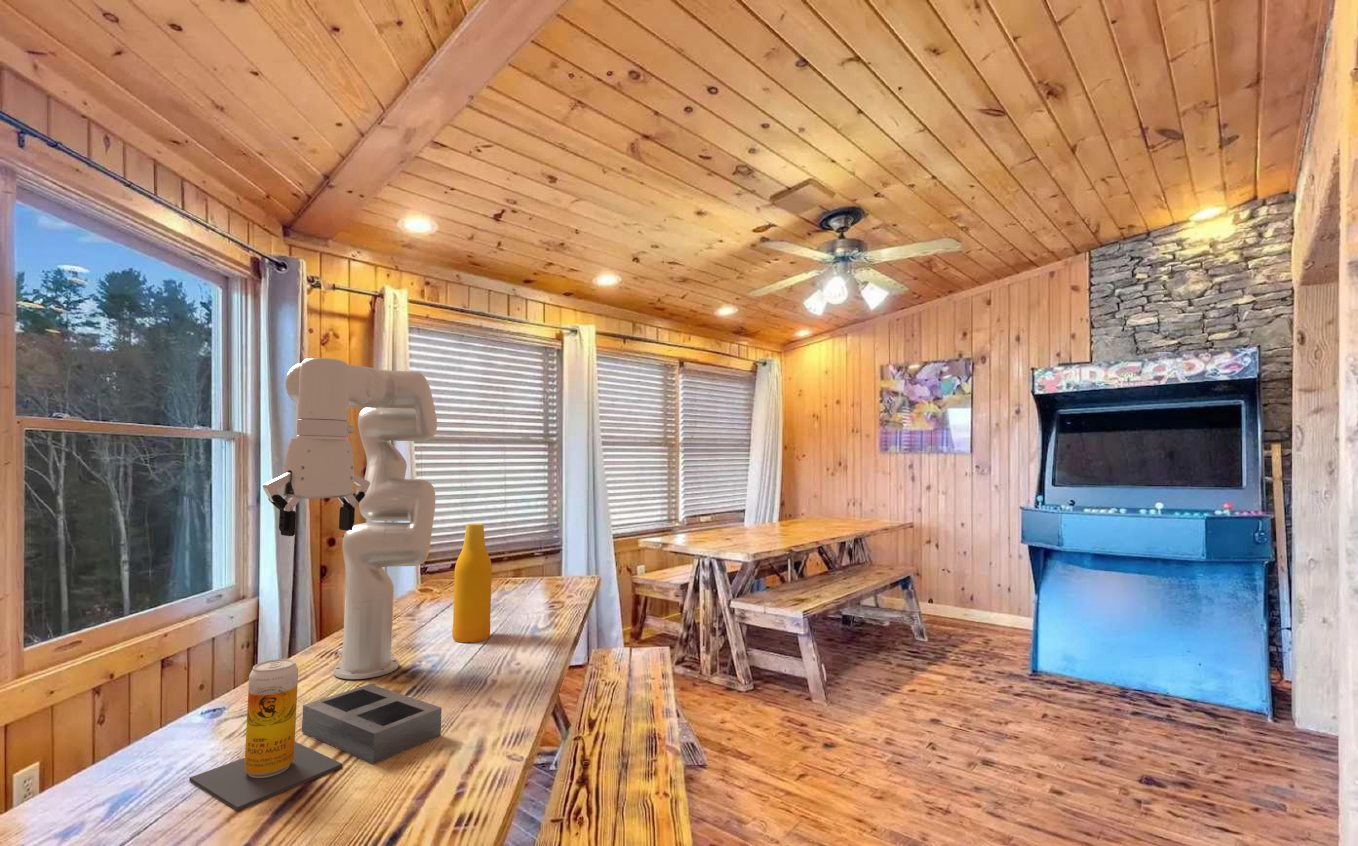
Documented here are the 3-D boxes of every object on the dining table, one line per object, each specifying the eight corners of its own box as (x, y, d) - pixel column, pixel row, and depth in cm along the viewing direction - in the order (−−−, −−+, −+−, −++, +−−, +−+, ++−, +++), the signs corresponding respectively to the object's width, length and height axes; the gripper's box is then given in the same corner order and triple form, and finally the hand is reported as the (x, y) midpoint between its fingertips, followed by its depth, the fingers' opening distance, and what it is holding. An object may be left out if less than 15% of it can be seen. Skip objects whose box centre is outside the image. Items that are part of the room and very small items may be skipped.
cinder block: (301, 732, 105) (303, 704, 105) (369, 708, 115) (370, 683, 116) (373, 764, 95) (374, 733, 95) (440, 734, 105) (441, 707, 105)
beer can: (240, 783, 88) (246, 673, 89) (247, 764, 93) (252, 661, 94) (291, 774, 90) (296, 667, 91) (295, 756, 96) (300, 655, 97)
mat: (189, 780, 89) (189, 777, 89) (292, 743, 101) (292, 740, 101) (237, 810, 82) (237, 806, 82) (342, 766, 94) (342, 763, 94)
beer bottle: (483, 643, 157) (487, 526, 158) (446, 642, 157) (450, 525, 158) (494, 633, 166) (498, 522, 167) (459, 632, 166) (463, 522, 168)
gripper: (358, 433, 116) (354, 526, 115) (255, 429, 102) (250, 535, 101) (382, 433, 112) (378, 529, 111) (280, 428, 98) (274, 539, 97)
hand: (317, 532), depth 106 cm, fingers open, 9 cm apart
